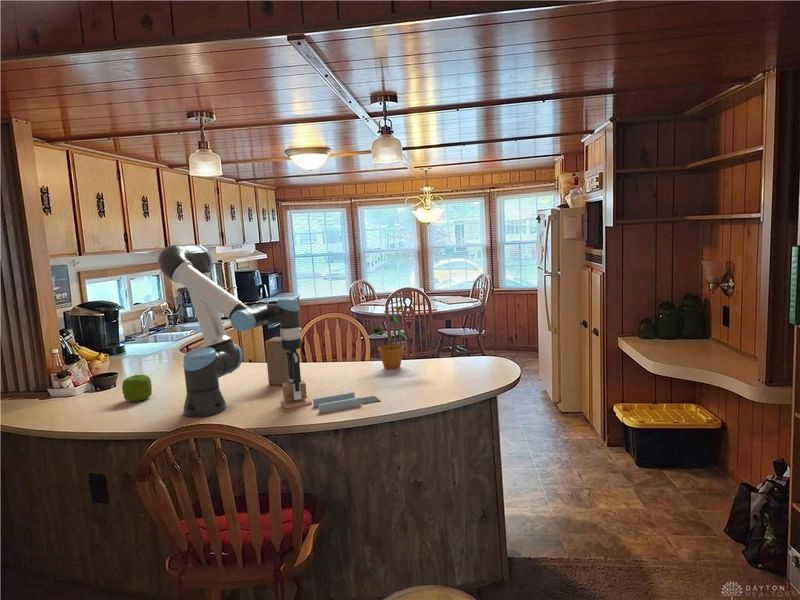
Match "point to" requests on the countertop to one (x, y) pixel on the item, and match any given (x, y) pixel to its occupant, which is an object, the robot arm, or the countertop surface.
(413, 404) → the countertop surface
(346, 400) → the channel
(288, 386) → the block
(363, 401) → the trap mat
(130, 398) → the green rounded cube
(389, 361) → the potted plant
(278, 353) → the wooden block
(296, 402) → the tile
